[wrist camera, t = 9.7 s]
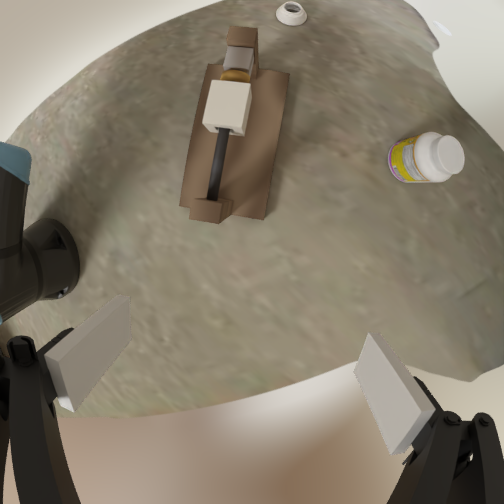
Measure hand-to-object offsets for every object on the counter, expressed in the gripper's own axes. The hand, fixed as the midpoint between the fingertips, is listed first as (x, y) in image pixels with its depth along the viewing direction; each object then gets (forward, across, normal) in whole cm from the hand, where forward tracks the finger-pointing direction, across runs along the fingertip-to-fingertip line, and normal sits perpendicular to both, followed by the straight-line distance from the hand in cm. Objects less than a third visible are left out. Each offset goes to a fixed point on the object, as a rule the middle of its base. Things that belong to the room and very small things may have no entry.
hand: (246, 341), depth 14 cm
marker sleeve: (+19, +5, -16) cm, 25 cm away
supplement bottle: (+27, -21, -17) cm, 38 cm away
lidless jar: (+27, 0, -39) cm, 47 cm away
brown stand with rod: (+26, +5, -15) cm, 31 cm away
